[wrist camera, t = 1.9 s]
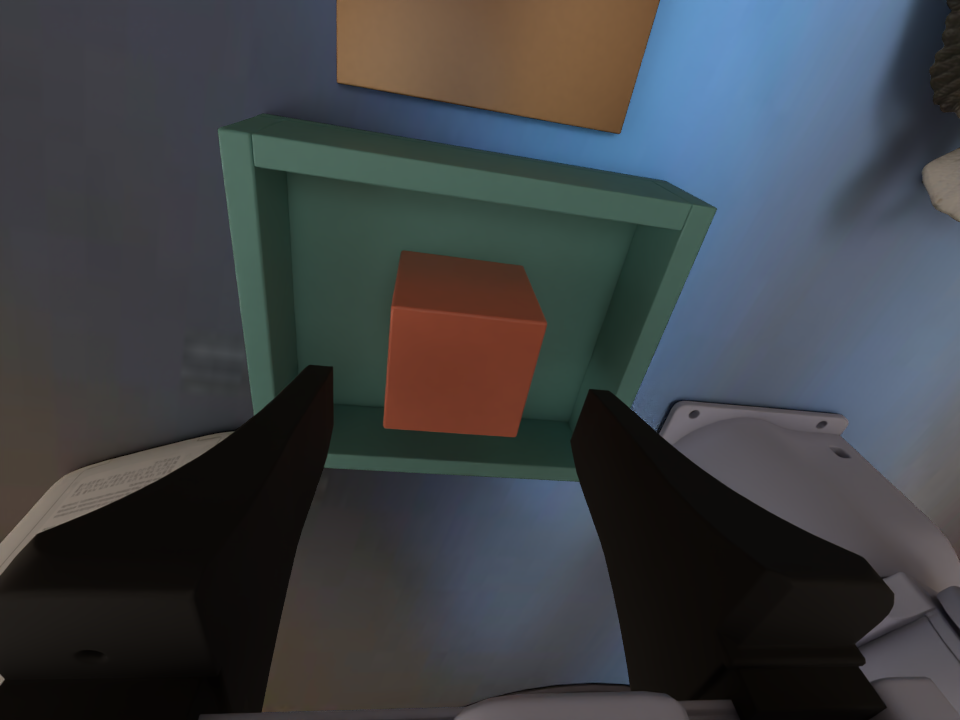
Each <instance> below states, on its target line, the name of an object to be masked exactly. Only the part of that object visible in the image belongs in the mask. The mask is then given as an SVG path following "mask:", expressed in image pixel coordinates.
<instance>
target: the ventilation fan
mask: <svg viewBox="0 0 960 720" xmlns="http://www.w3.org/2000/svg"><path fill="white" fill-rule="evenodd" d="M627 691H631V689H630V686H627V685H615V684H577V685H561V686H552V687H545V688H538V689H532V690H525V691H520V692H515V693H511V694H507V695H514V694H544V693H585V692H627ZM507 695H503V696H507ZM499 697H500V696H499ZM469 706H470V705H469ZM466 707H467V706H466Z"/></svg>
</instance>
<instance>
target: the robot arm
mask: <svg viewBox="0 0 960 720" xmlns="http://www.w3.org/2000/svg"><path fill="white" fill-rule="evenodd" d="M693 410H695V411H694V412H692V411H693ZM690 412H692V413H690ZM847 425H848V420H847V419H846V418H845V417H844V416H843V415H841V414H831V413H820V412H808V411H797V410H785V409H774V408H762V407H751V406H739V405H728V404H716V403H705V402H694V401H680V402H678V403H676V404H675V405H674V406H673V407H672V409H671V411H670V413H669V415H668V417H667V419H666V421H665V423H664V425H663V427H662V429H661V431H660V433H659V434H658V433H657V432H656V431H655V430H654V429H652V428H651V427H650V426H649V425H648V424H647V423H646V422H645V421H644V420H642V419H641V418H640V417H639V416H638V415H637V414H636V413H635V412H634V411H632V410H631V409H630V408H629V407H628V406H627V405H626V404H625V403H623V402H622V401H621V400H620V399H619V398H618V397H617V396H615V395H614V394H613V393H612V392H610V391H609V390H597V389H589V391H588V394H587V396H586V399H585V402H584V405H583V407H582V410H581V413H580V416H579V418H578V421H577V424H576V427H575V429H574V432H573V435H572V438H571V440H570V442H571V448H572V454H573V459H574V464H575V468H576V473H577V476H578V479H579V482H580V485H581V488H582V491H583V493H584V496H585V499H586V502H587V505H588V508H589V511H590V513H591V516H592V519H593V522H594V525H595V528H596V530H597V533H598V536H599V539H600V542H601V545H602V549H603V552H604V555H605V559H606V564H607V568H608V572H609V576H610V581H611V585H612V589H613V594H614V599H615V604H616V608H617V613H618V618H619V623H620V628H621V634H622V640H623V645H624V651H625V656H626V662H627V668H628V675H629V682H630V689H631V691H627V692H585V693H544V694H514V695H507V696H500V697H493V698H487V699H485V700H482V701H480V702H477V703H475V704H472V705H470V706H467V707H444V708H408V709H372V710H337V711H301V712H265V713H261V712H262V707H263V702H264V697H265V692H266V687H267V681H268V676H269V671H270V666H271V662H272V657H273V652H274V647H275V643H276V638H277V633H278V628H279V624H280V619H281V615H282V610H283V606H284V601H285V597H286V592H287V588H288V583H289V579H290V575H291V570H292V566H293V562H294V558H295V553H296V549H297V545H298V542H299V539H300V535H301V532H302V529H303V526H304V523H305V520H306V517H307V514H308V511H309V509H310V506H311V503H312V500H313V497H314V494H315V491H316V488H317V485H318V483H319V480H320V477H321V474H322V471H323V468H324V465H325V462H326V459H327V455H328V450H329V446H330V441H331V436H332V431H333V426H334V406H333V367H332V366H321V365H308V366H307V367H305V368H304V369H303V370H302V371H301V372H300V373H299V374H298V375H297V377H296V378H295V379H294V380H293V381H292V382H291V383H290V384H288V385H287V386H286V387H285V388H284V389H283V390H282V391H281V392H280V393H279V394H278V395H277V396H276V397H275V398H274V399H273V400H271V401H270V402H269V403H268V404H267V405H266V406H265V407H264V408H263V409H262V410H260V411H259V412H258V413H257V414H256V415H254V416H253V417H252V418H251V419H249V420H248V421H247V422H246V423H245V424H243V425H242V426H241V427H240V428H238V429H237V430H236V431H235V432H233V433H232V434H231V435H229V436H228V437H226V438H225V439H224V440H222V441H221V442H220V443H218V444H217V445H215V446H214V447H212V448H211V449H209V450H208V451H206V452H205V453H203V454H202V455H200V456H199V457H197V458H195V459H194V460H192V461H190V462H189V463H187V464H185V465H183V466H182V467H180V468H178V469H176V470H175V471H173V472H171V473H169V474H168V475H166V476H164V477H163V478H161V479H159V480H157V481H155V482H153V483H151V484H149V485H147V486H145V487H143V488H141V489H139V490H137V491H135V492H133V493H131V494H129V495H127V496H125V497H123V498H121V499H119V500H117V501H114V502H112V503H110V504H108V505H106V506H103V507H101V508H99V509H97V510H94V511H92V512H89V513H87V514H85V515H82V516H80V517H77V518H75V519H72V520H70V521H68V522H65V523H63V524H60V525H58V526H56V527H53V528H51V529H48V530H45V531H43V532H40V533H38V534H36V535H35V536H34V537H33V538H32V540H31V541H30V542H29V543H28V544H27V545H26V546H25V547H24V548H23V549H22V550H21V551H20V552H19V553H18V554H17V555H16V557H15V558H14V559H13V560H12V562H11V563H10V564H9V565H8V566H7V568H6V569H5V570H4V571H3V573H2V574H1V575H0V674H1V676H2V677H3V678H4V679H5V680H4V681H3V682H2V684H1V685H0V720H960V562H959V559H958V557H957V555H956V553H955V551H954V549H953V547H952V546H951V544H950V542H949V541H948V539H947V538H946V537H945V535H944V534H943V533H942V531H941V530H940V529H939V528H938V527H937V526H936V525H935V524H934V523H933V522H932V521H931V520H930V519H929V518H928V517H927V516H926V515H925V514H924V513H923V512H921V511H920V510H919V509H918V508H917V507H916V506H915V505H914V504H913V503H912V502H911V501H910V500H909V499H908V498H906V497H905V496H904V495H903V494H902V493H901V492H900V491H899V490H898V489H897V488H896V487H895V486H894V485H893V484H891V483H890V482H889V481H888V480H887V479H886V478H885V477H884V476H883V475H882V474H881V473H880V472H879V471H877V470H876V469H875V468H874V467H873V466H872V465H871V464H870V463H869V462H868V461H867V460H866V459H865V458H864V457H862V456H861V455H860V454H859V453H858V452H857V451H856V450H855V449H854V448H853V447H852V446H851V445H850V444H848V443H847V442H846V441H845V440H844V439H843V438H842V437H841V436H840V435H841V434H842V432H843V431H844V430H845V428H846V427H847Z"/></svg>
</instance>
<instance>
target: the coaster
mask: <svg viewBox="0 0 960 720" xmlns="http://www.w3.org/2000/svg"><path fill="white" fill-rule="evenodd" d="M659 2H660V0H337V82H338V83H341V84H346V85H352V86H357V87H363V88H368V89H374V90H379V91H385V92H390V93H396V94H401V95H407V96H412V97H418V98H423V99H429V100H434V101H440V102H445V103H451V104H456V105H462V106H467V107H473V108H478V109H484V110H489V111H495V112H500V113H506V114H511V115H517V116H522V117H528V118H533V119H539V120H544V121H550V122H555V123H561V124H566V125H572V126H577V127H583V128H588V129H594V130H599V131H605V132H610V133H616V134H620V133H621V130H622V126H623V123H624V120H625V116H626V113H627V109H628V106H629V103H630V99H631V96H632V93H633V89H634V86H635V83H636V79H637V76H638V72H639V69H640V66H641V62H642V59H643V56H644V52H645V49H646V46H647V42H648V39H649V35H650V32H651V29H652V25H653V22H654V19H655V15H656V12H657V9H658V5H659Z"/></svg>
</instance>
